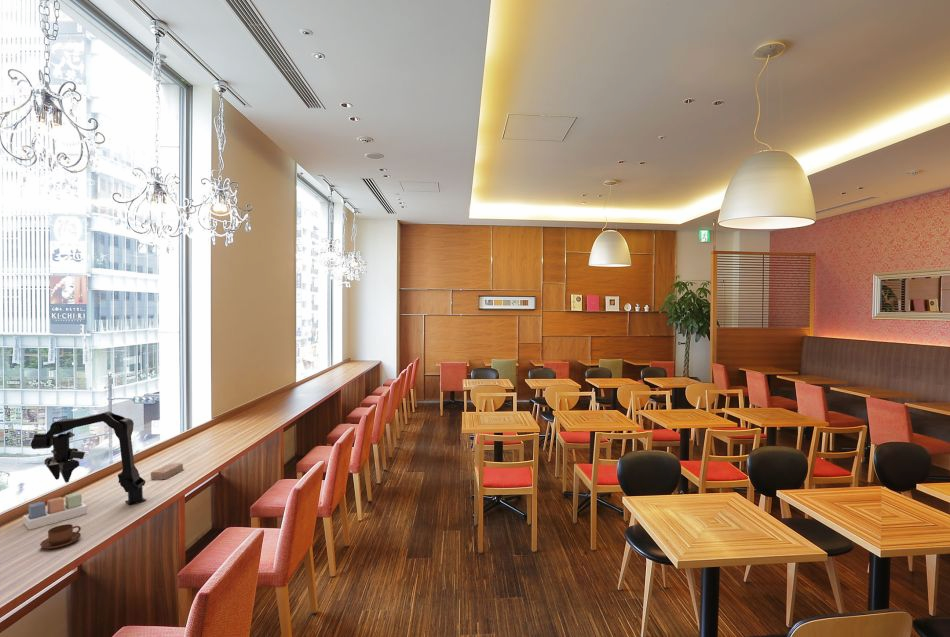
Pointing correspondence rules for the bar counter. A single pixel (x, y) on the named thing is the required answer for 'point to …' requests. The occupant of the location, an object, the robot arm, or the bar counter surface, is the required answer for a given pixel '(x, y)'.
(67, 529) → the cup and saucer
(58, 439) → the robot arm
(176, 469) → the brick
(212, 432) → the bar counter surface
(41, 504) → the blue block
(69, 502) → the block sage
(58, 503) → the block terracotta
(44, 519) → the socket board
